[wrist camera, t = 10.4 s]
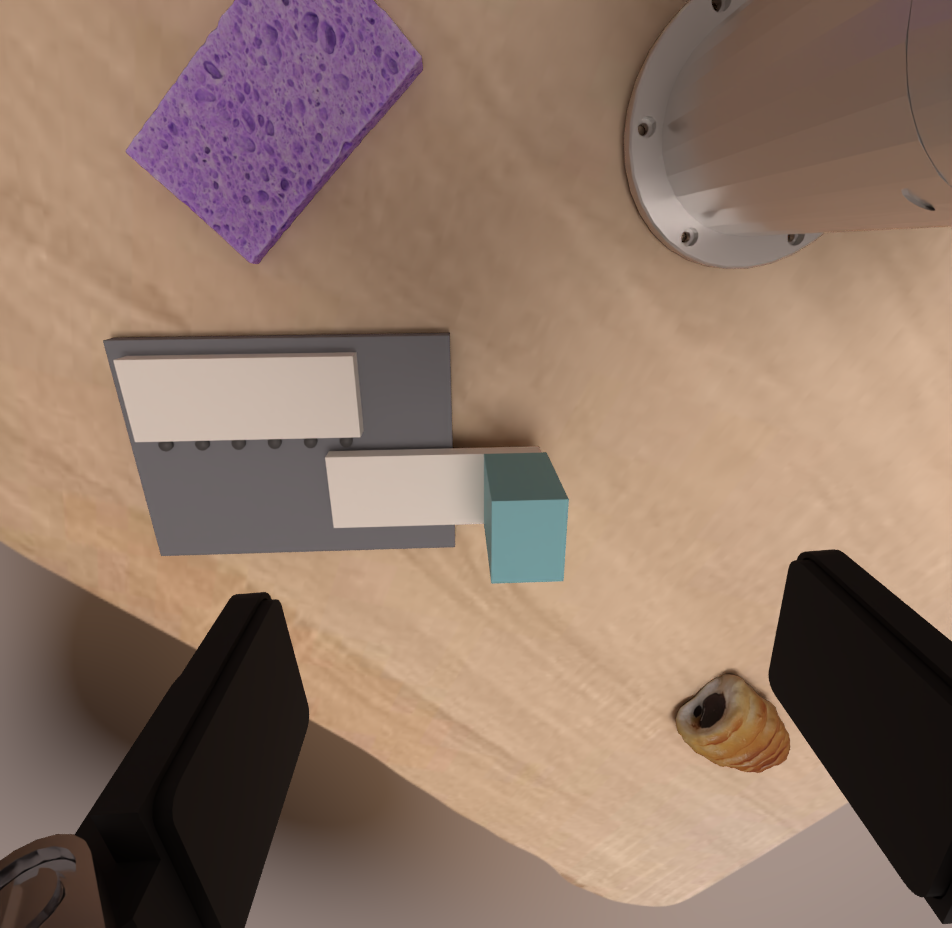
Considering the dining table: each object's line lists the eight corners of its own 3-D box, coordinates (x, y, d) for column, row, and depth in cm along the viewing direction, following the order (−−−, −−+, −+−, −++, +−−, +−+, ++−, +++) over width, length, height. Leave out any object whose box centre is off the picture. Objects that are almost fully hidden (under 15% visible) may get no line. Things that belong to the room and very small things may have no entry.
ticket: (356, 352, 28) (352, 356, 27) (364, 445, 30) (361, 452, 29) (126, 355, 28) (113, 360, 27) (150, 450, 30) (139, 457, 29)
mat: (449, 332, 29) (449, 335, 28) (454, 539, 34) (455, 547, 33) (114, 337, 28) (102, 340, 27) (169, 547, 33) (161, 555, 32)
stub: (543, 446, 30) (568, 499, 24) (540, 514, 32) (563, 581, 26) (328, 451, 30) (295, 506, 23) (337, 519, 32) (307, 589, 25)
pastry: (799, 719, 42) (831, 763, 38) (733, 766, 44) (757, 812, 40) (726, 661, 39) (754, 702, 36) (658, 714, 41) (678, 758, 37)
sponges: (425, 71, 25) (423, 57, 23) (259, 268, 28) (246, 269, 26) (308, -71, 23) (297, -98, 21) (142, 158, 26) (119, 151, 24)
